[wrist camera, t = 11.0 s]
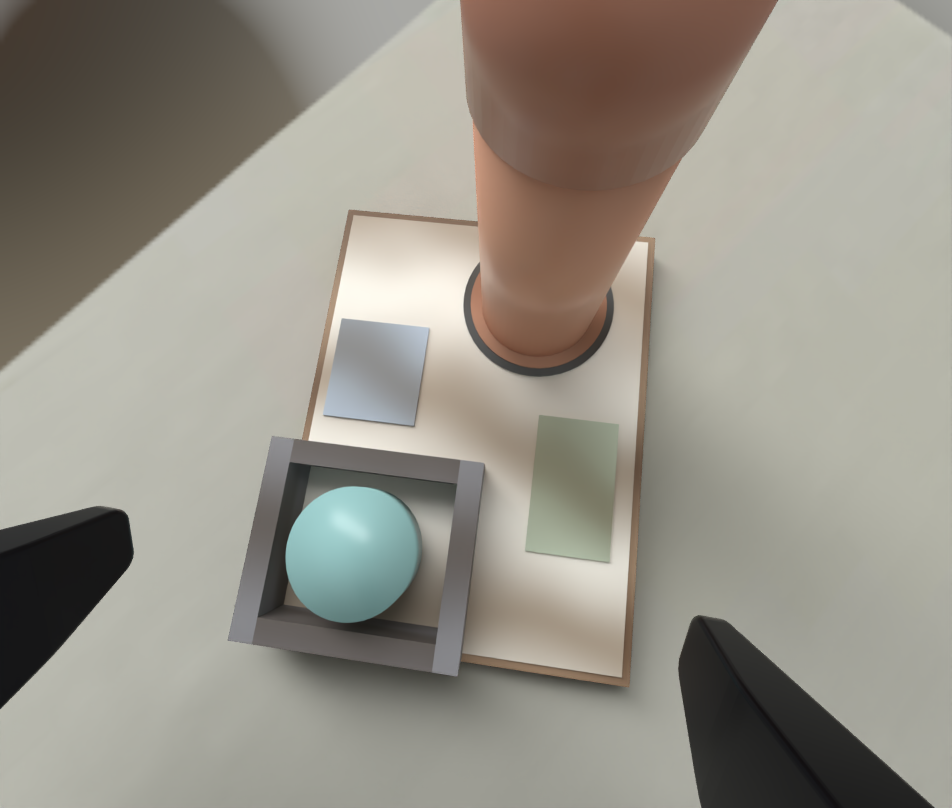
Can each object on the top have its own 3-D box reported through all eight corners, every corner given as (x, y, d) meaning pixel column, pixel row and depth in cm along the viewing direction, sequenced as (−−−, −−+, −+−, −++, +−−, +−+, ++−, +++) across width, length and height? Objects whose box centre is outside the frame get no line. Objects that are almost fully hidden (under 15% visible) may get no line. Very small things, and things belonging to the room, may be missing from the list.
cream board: (621, 676, 17) (648, 713, 14) (270, 622, 18) (226, 647, 15) (647, 250, 20) (673, 208, 17) (351, 222, 21) (328, 178, 18)
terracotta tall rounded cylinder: (591, 365, 18) (834, 32, 5) (472, 352, 18) (427, 3, 5) (600, 257, 19) (826, -255, 6) (487, 245, 19) (477, -266, 6)
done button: (412, 619, 15) (403, 632, 14) (294, 601, 15) (273, 612, 14) (430, 495, 16) (424, 495, 14) (317, 480, 16) (299, 478, 15)
